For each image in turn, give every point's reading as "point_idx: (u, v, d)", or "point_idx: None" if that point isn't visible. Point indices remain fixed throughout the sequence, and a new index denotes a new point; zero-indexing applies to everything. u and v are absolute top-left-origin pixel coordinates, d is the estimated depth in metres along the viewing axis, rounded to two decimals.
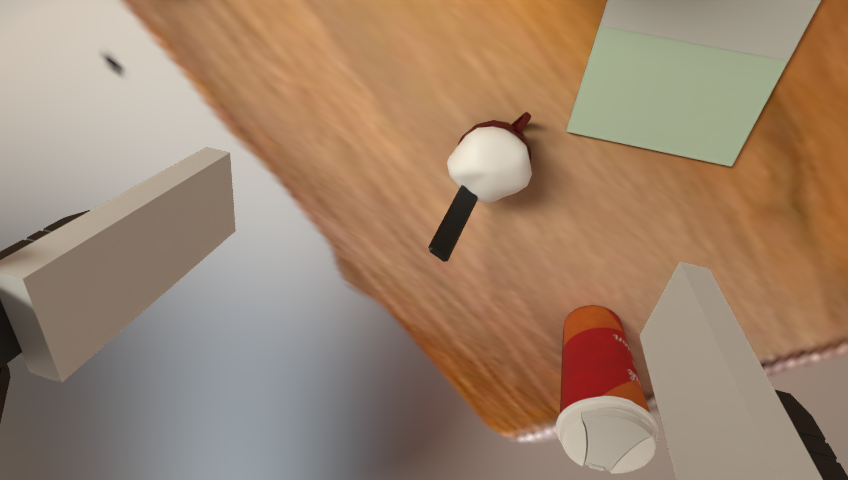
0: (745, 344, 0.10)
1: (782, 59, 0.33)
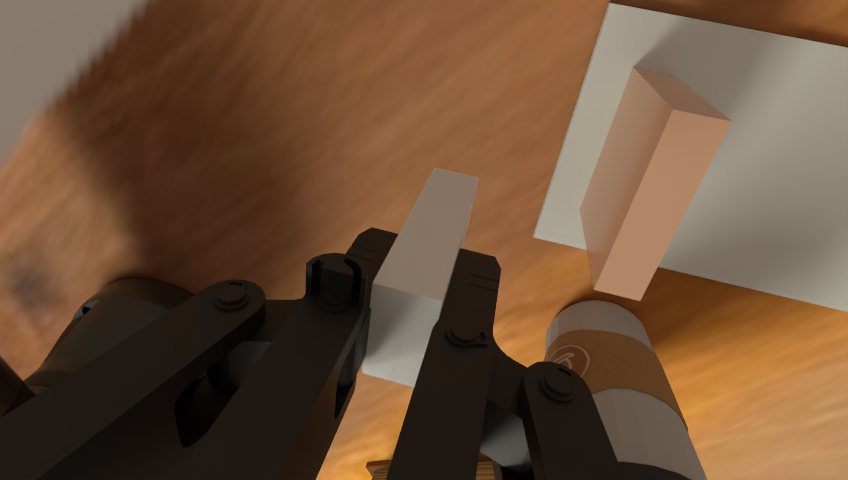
0: (466, 221, 0.13)
1: None
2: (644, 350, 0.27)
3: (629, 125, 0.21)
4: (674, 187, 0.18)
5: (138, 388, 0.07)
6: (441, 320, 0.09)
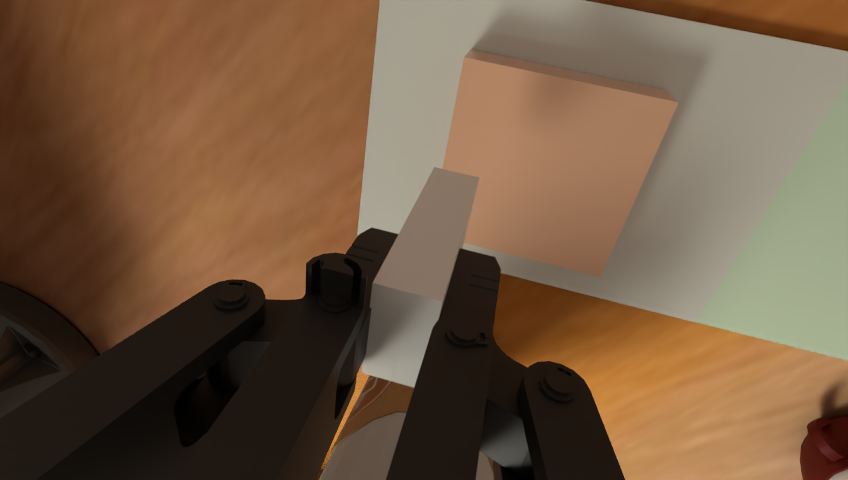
0: (466, 221, 0.13)
1: None
2: None
3: (539, 126, 0.19)
4: None
5: (138, 388, 0.07)
6: (441, 320, 0.09)
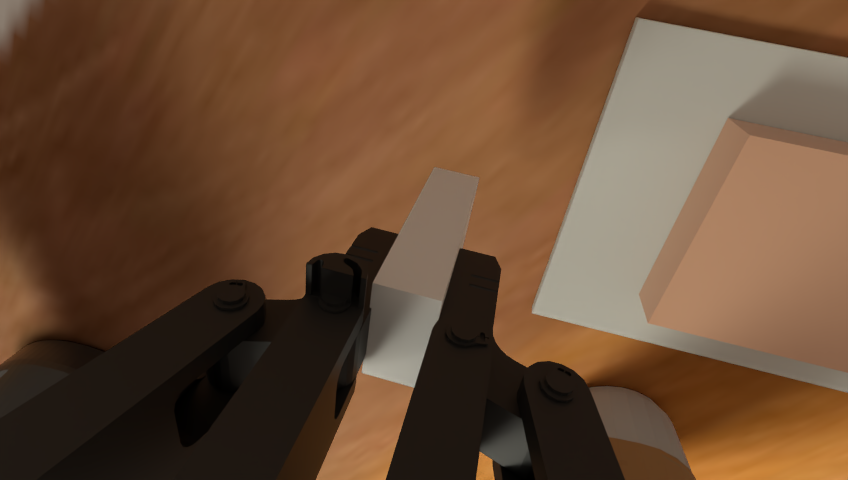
0: (466, 221, 0.13)
1: None
2: (676, 469, 0.20)
3: (826, 213, 0.16)
4: None
5: (138, 388, 0.07)
6: (441, 320, 0.09)
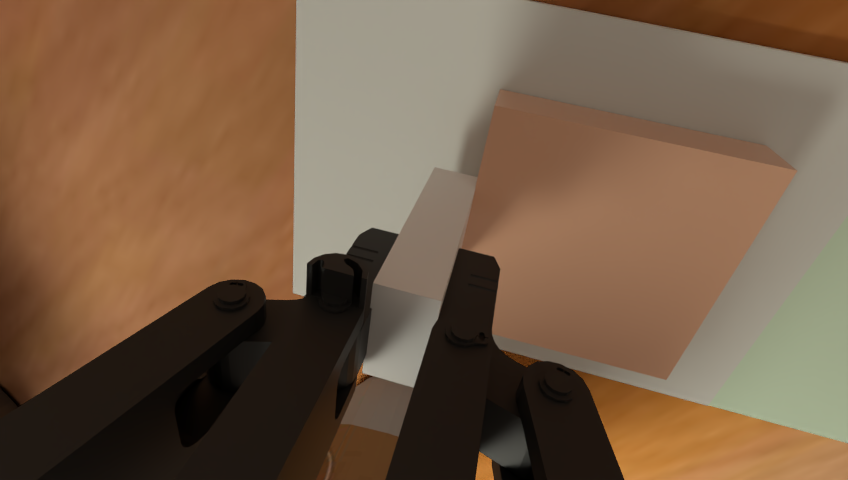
0: (465, 221, 0.13)
1: None
2: None
3: (595, 196, 0.14)
4: None
5: (138, 388, 0.07)
6: (441, 320, 0.09)
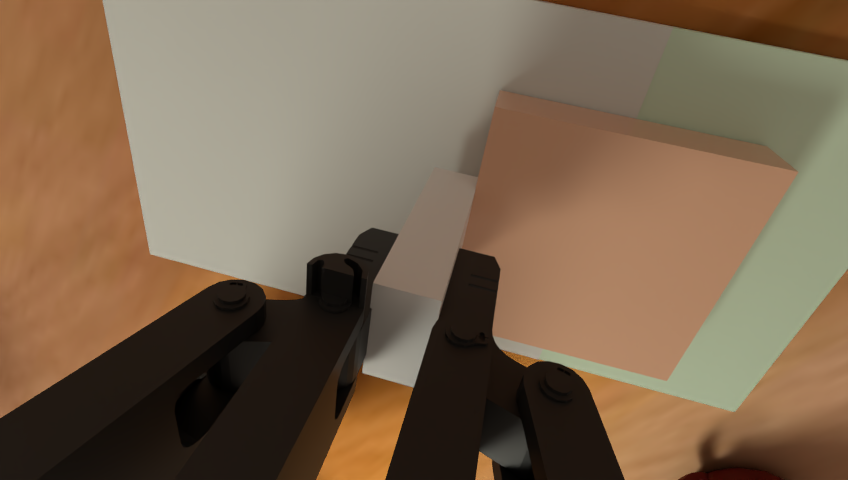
0: (466, 221, 0.13)
1: (667, 40, 0.13)
2: None
3: (596, 197, 0.14)
4: None
5: (138, 388, 0.07)
6: (441, 320, 0.09)
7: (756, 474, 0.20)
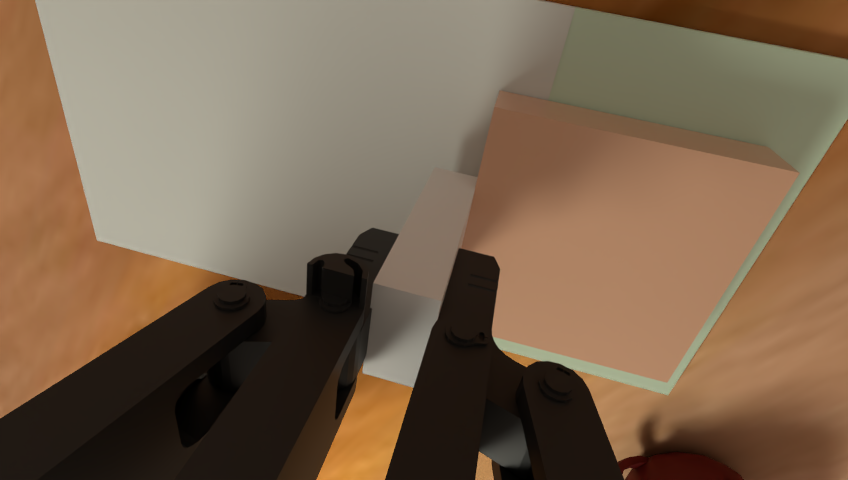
0: (465, 221, 0.13)
1: (571, 20, 0.13)
2: None
3: (595, 198, 0.14)
4: None
5: (138, 389, 0.07)
6: (440, 320, 0.09)
7: (693, 457, 0.20)
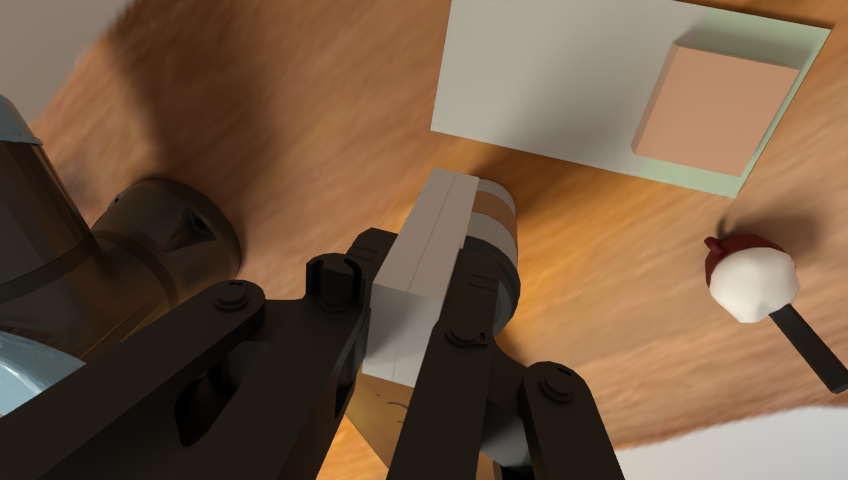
0: (466, 221, 0.13)
1: (707, 12, 0.33)
2: (498, 201, 0.39)
3: (716, 85, 0.33)
4: None
5: (138, 388, 0.07)
6: (441, 320, 0.09)
7: None
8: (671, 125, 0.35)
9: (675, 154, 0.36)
